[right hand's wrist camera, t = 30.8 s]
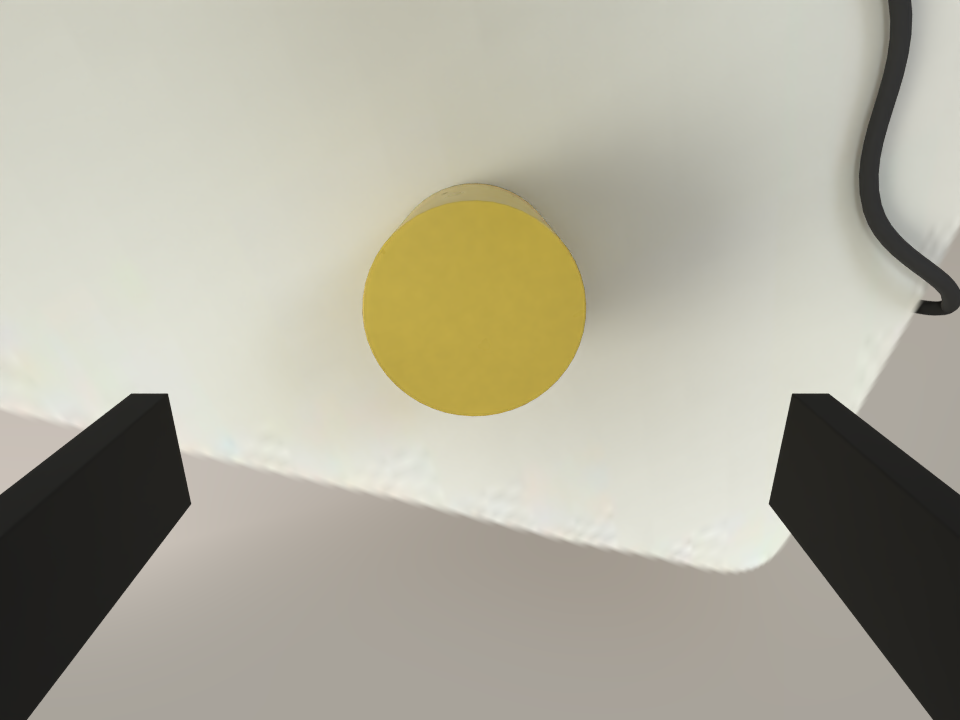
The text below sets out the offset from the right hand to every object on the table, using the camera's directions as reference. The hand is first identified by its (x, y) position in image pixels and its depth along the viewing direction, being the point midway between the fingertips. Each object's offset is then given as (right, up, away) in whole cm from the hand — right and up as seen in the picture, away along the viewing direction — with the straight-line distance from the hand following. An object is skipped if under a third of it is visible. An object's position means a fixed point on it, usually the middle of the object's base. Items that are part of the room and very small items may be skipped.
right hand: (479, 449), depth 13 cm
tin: (0, +7, +20) cm, 21 cm away
